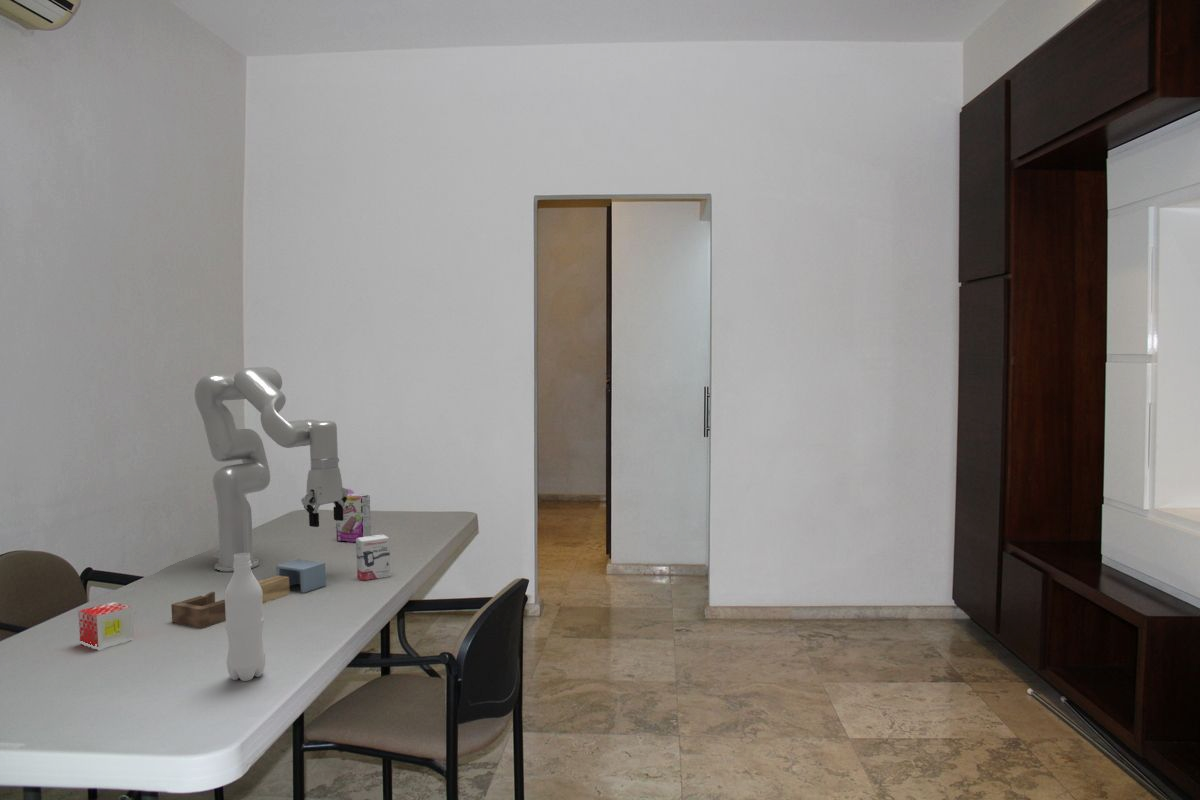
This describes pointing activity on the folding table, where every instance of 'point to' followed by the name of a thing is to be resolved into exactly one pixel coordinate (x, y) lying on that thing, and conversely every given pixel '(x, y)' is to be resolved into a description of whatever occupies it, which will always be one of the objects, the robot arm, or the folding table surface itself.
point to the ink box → (373, 557)
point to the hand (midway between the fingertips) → (326, 523)
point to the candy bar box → (354, 518)
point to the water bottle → (244, 621)
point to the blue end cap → (304, 574)
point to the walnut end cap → (199, 611)
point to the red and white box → (106, 624)
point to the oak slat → (274, 588)
